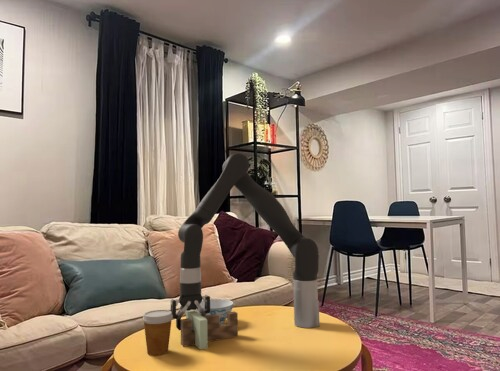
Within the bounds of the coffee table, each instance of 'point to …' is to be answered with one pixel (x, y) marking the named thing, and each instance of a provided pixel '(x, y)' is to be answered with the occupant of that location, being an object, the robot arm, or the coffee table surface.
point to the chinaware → (218, 308)
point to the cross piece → (198, 328)
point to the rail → (210, 328)
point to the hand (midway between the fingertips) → (190, 327)
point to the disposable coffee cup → (157, 331)
